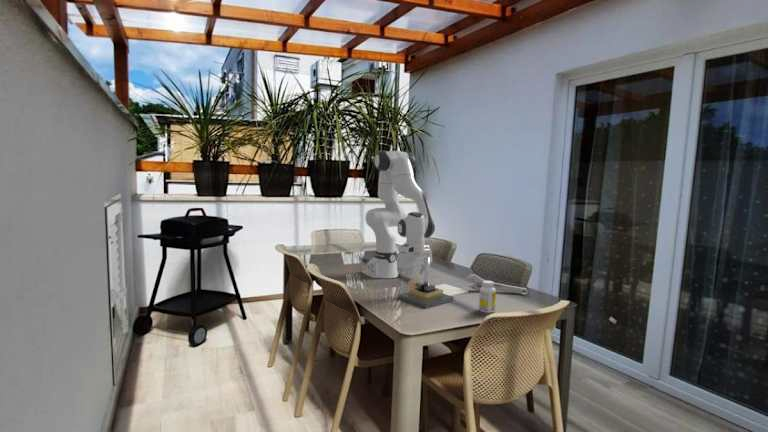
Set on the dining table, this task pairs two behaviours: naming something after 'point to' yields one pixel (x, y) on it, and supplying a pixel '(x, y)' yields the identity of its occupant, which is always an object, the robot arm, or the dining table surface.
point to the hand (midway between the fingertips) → (415, 275)
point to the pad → (451, 290)
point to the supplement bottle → (487, 297)
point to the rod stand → (426, 288)
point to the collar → (422, 295)
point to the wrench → (503, 287)
